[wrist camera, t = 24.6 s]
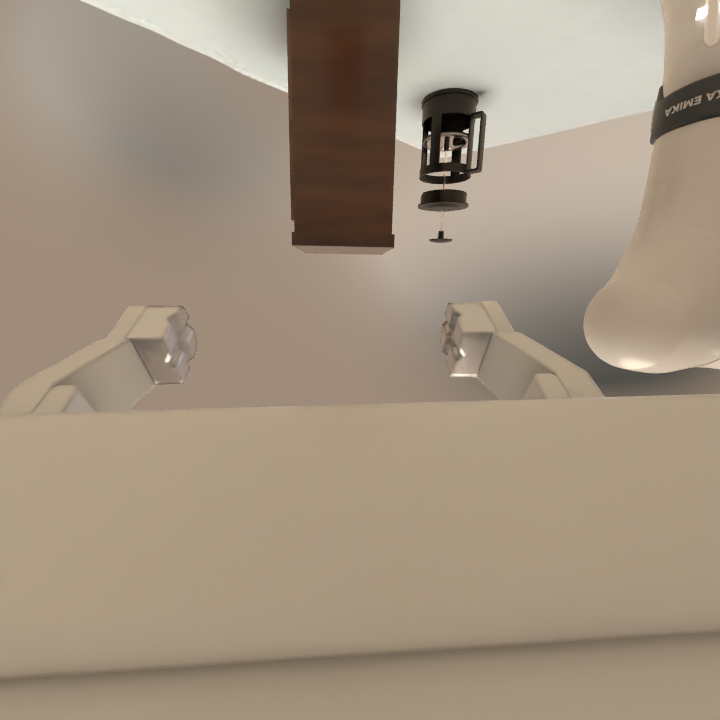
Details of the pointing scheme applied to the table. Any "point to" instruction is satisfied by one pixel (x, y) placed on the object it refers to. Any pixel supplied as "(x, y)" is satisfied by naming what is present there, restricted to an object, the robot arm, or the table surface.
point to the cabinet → (342, 123)
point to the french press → (449, 148)
